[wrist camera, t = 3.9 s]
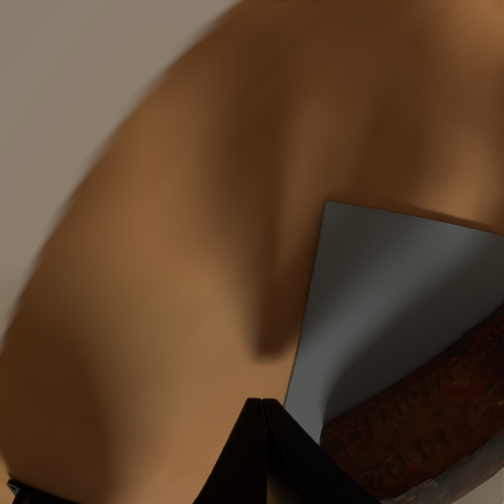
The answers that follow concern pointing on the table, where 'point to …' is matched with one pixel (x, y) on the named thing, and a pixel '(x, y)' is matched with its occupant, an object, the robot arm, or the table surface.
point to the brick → (430, 425)
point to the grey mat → (385, 305)
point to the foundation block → (486, 492)
